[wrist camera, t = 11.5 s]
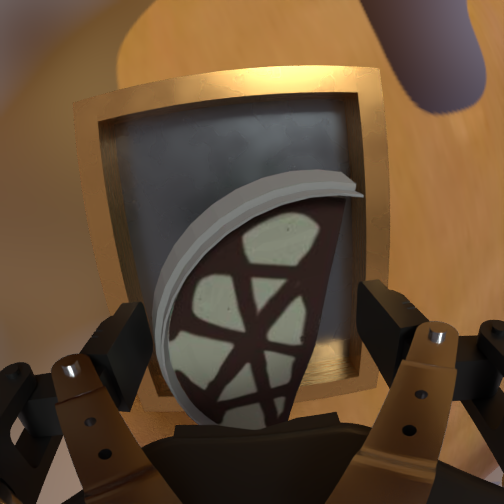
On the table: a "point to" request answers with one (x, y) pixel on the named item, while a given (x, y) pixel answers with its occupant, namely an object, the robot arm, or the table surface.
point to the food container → (249, 297)
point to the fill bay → (233, 177)
